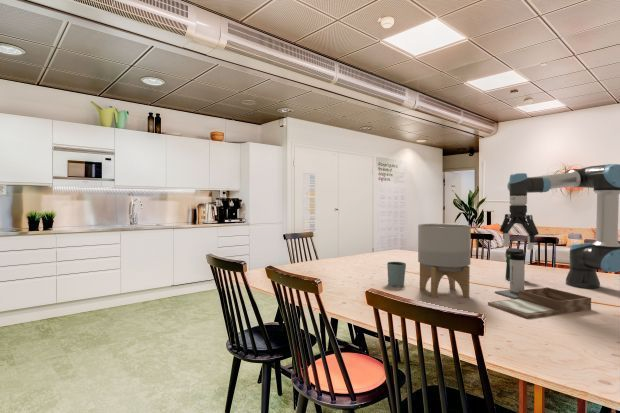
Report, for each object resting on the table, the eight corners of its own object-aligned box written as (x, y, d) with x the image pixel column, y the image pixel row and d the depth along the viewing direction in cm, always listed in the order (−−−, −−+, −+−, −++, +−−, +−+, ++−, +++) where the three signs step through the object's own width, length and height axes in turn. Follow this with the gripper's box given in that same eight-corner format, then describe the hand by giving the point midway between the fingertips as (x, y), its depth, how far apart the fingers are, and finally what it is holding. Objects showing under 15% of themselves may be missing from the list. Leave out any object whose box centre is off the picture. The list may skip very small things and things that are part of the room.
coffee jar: (525, 280, 214) (525, 248, 213) (522, 282, 208) (523, 249, 207) (507, 277, 220) (507, 246, 220) (503, 280, 214) (504, 248, 214)
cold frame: (547, 297, 176) (547, 287, 176) (591, 309, 157) (591, 298, 157) (487, 304, 165) (487, 293, 165) (527, 318, 146) (527, 306, 146)
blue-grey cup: (385, 282, 209) (385, 261, 209) (403, 282, 208) (403, 261, 208) (389, 286, 199) (389, 264, 198) (407, 286, 198) (407, 264, 198)
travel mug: (522, 291, 184) (522, 252, 184) (525, 295, 178) (525, 253, 178) (508, 290, 186) (508, 251, 186) (511, 294, 180) (511, 253, 180)
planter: (409, 293, 185) (409, 225, 184) (430, 284, 204) (431, 222, 203) (458, 302, 168) (459, 228, 168) (477, 292, 187) (478, 225, 186)
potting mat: (519, 290, 190) (519, 288, 190) (540, 296, 179) (540, 294, 179) (494, 293, 185) (494, 291, 185) (515, 299, 174) (515, 297, 174)
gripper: (492, 204, 192) (492, 245, 192) (535, 205, 168) (535, 251, 168) (503, 204, 194) (503, 244, 194) (547, 205, 170) (547, 250, 171)
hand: (518, 247), depth 181 cm, fingers open, 13 cm apart
